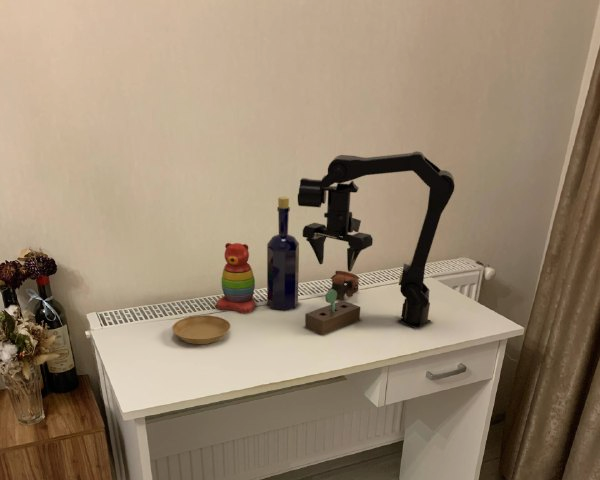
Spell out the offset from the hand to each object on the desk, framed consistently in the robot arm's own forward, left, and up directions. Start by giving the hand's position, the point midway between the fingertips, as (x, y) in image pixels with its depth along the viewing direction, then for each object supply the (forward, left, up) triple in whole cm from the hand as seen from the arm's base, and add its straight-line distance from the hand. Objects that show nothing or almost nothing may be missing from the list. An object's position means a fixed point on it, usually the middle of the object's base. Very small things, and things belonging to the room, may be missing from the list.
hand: (335, 267), depth 164 cm
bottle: (+14, +6, -14) cm, 21 cm away
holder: (-5, +5, -14) cm, 15 cm away
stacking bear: (+22, +16, -14) cm, 31 cm away
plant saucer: (+12, +36, -14) cm, 40 cm away
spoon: (-5, +5, -14) cm, 15 cm away
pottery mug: (+7, -13, -14) cm, 20 cm away
